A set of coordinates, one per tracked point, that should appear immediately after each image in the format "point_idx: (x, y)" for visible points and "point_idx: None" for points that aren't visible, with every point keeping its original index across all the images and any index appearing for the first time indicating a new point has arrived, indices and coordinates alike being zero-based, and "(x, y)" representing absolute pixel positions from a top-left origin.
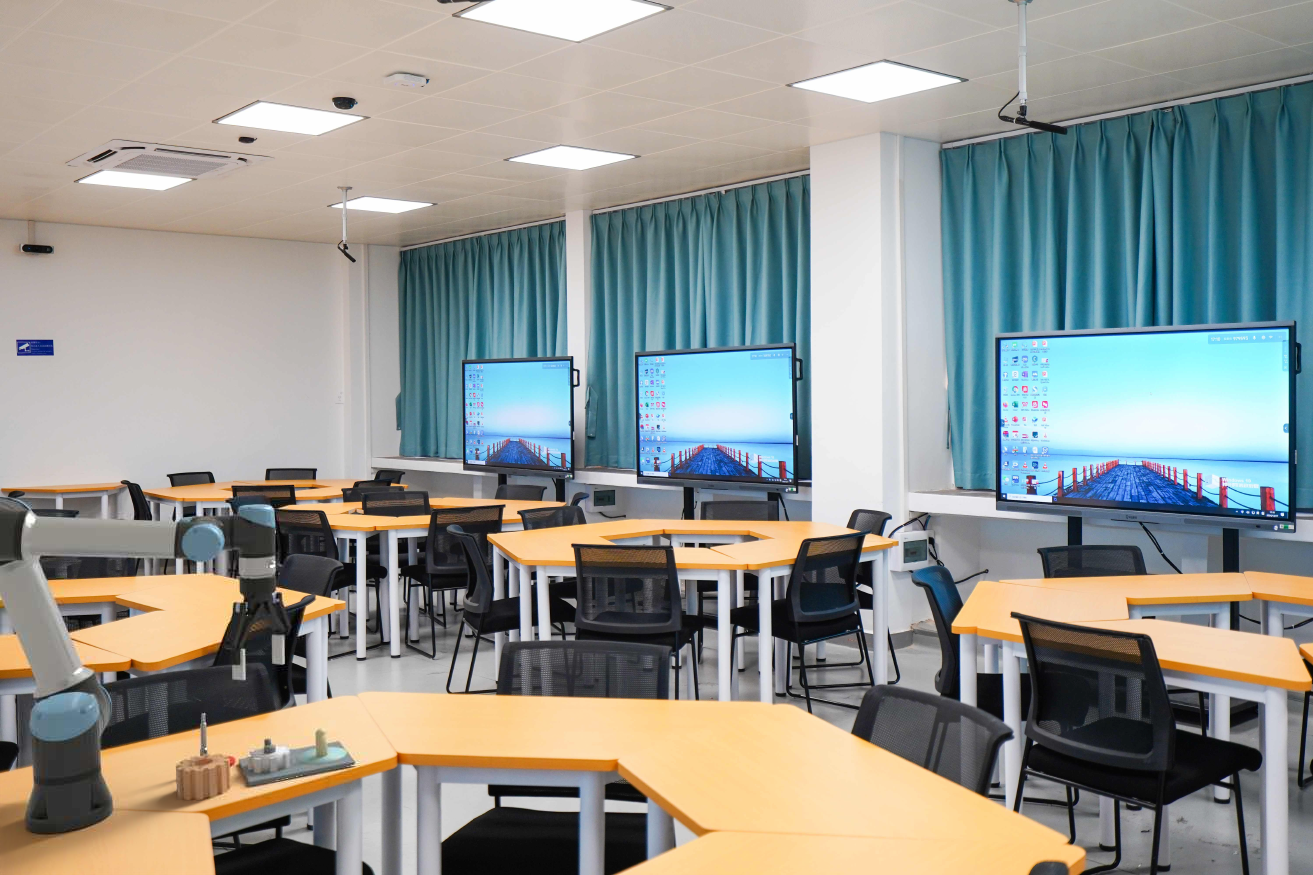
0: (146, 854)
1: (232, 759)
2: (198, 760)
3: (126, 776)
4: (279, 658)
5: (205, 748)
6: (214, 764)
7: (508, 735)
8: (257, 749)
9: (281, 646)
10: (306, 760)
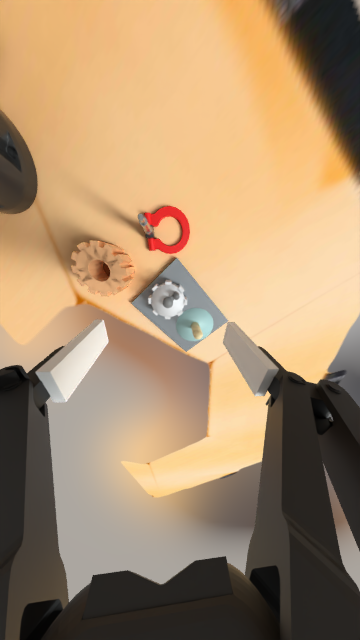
0: (4, 307)
1: (179, 248)
2: (102, 260)
3: (109, 122)
4: (228, 343)
5: (146, 232)
6: (99, 288)
7: (242, 398)
8: (171, 285)
9: (239, 368)
10: (182, 320)
